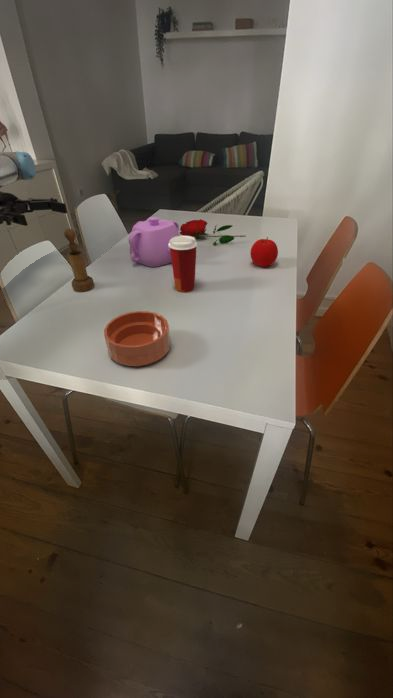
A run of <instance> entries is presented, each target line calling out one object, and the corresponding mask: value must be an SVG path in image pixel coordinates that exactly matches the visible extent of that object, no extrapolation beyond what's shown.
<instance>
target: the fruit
mask: <svg viewBox="0 0 393 698" xmlns="http://www.w3.org/2000/svg"><path fill="white" fill-rule="evenodd" d="M249 255H250V259H251V261H252V263H253V264H254V265H256V266H258V267H262V268H264V267H270V266H272V265H273V264H274V263H275V262H276V260H277V259H278V256H279V249H278V245H277V243H276V242H275V241H274V240H272V239H269V237H268V236H266V238H259V239H257V240H256V241H254V243H253V244H252V246H251V248H250V254H249Z"/></svg>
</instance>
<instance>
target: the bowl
mask: <svg viewBox="0 0 393 698" xmlns="http://www.w3.org/2000/svg"><path fill="white" fill-rule="evenodd" d="M103 337H104V340H105V344H106V348H107V353H108V356H109V357H110V358H111V360H113V361H114V362H116V363H117V364H120V365H123V366H127V367H141V366H146V365H150V364H153V363H155V362H157V361H159V360H161V359H162V358H163V357H165V356H166V354H167V353H168V352H169V350H170V348H171V347H170V346H171V338H170V326H169V322H168V320H167V318H165V317H164V316H163V315H161V314H159V313H156V312H153V311H147V310H145V311H144V310H136V311H129V312H126V313H122V314H120V315H117V316H116V317H114V318H112V319H111V320H110V321H109V322H108V323H106V325H105V327H104V329H103Z"/></svg>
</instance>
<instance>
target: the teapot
mask: <svg viewBox="0 0 393 698" xmlns="http://www.w3.org/2000/svg"><path fill="white" fill-rule="evenodd" d="M176 236H181V234H180V226H179V223H178V221H175V220H172V219H170V220H167V219H162V218H159V217H158V216H150V217H148V218H147V220H139V221H137V222H136V223H135V224H134V225H133V226H132V229H131V233H130V234H129V236H128V244H129V254H130V259H131V261H133V262H136V263H138V264H140V265H143V266H146V267H150V268H157V267H161V266H165V265H168V264H170V263H171V264H172V260H171V252H170V247H169V246H168V244H169V241H170V240H171V239H172V238H173V237H176Z"/></svg>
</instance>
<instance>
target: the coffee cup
mask: <svg viewBox="0 0 393 698" xmlns="http://www.w3.org/2000/svg"><path fill="white" fill-rule="evenodd" d="M168 246H169V247H170V252H171V260H172V262H171V267H172V274H173V282H174V288H175V290H176V291H177V292H179V293H190V292H193V291H194V290H195V288H196V287H195V285H196V265H197V246H198V242H197V238H196V239H195V238H194V237H192V236H183V235H180V236H176V237H173V238H172V239H171V240H170V241H169V244H168Z"/></svg>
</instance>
